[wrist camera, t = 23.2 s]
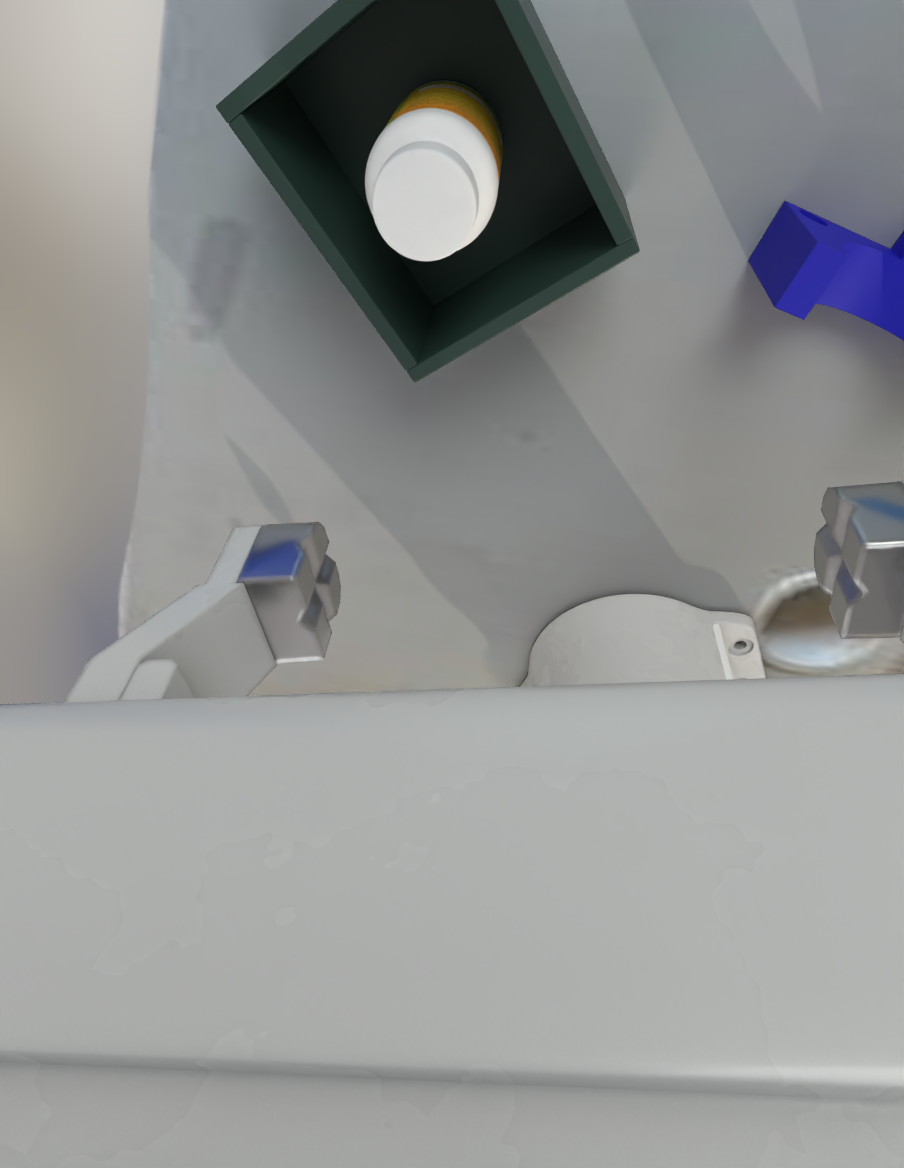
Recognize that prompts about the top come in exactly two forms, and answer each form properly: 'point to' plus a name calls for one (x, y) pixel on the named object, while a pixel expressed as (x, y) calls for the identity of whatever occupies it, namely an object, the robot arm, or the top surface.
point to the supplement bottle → (435, 171)
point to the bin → (358, 116)
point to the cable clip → (830, 269)
